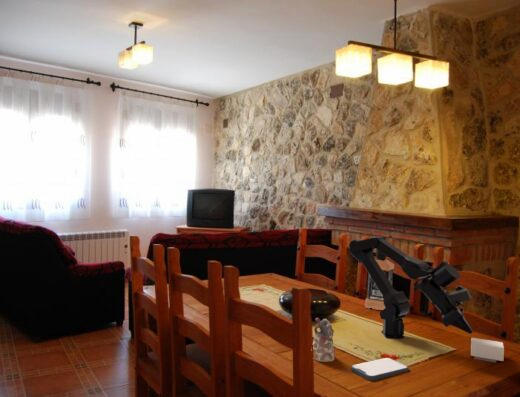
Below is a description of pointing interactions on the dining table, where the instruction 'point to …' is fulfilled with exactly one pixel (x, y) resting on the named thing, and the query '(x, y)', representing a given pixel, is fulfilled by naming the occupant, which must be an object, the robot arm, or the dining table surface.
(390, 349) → the dining table surface
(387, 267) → the whiskey bottle
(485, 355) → the white rectangular block
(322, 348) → the figurine
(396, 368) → the phone case
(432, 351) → the dining table surface
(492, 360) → the rubber mat
